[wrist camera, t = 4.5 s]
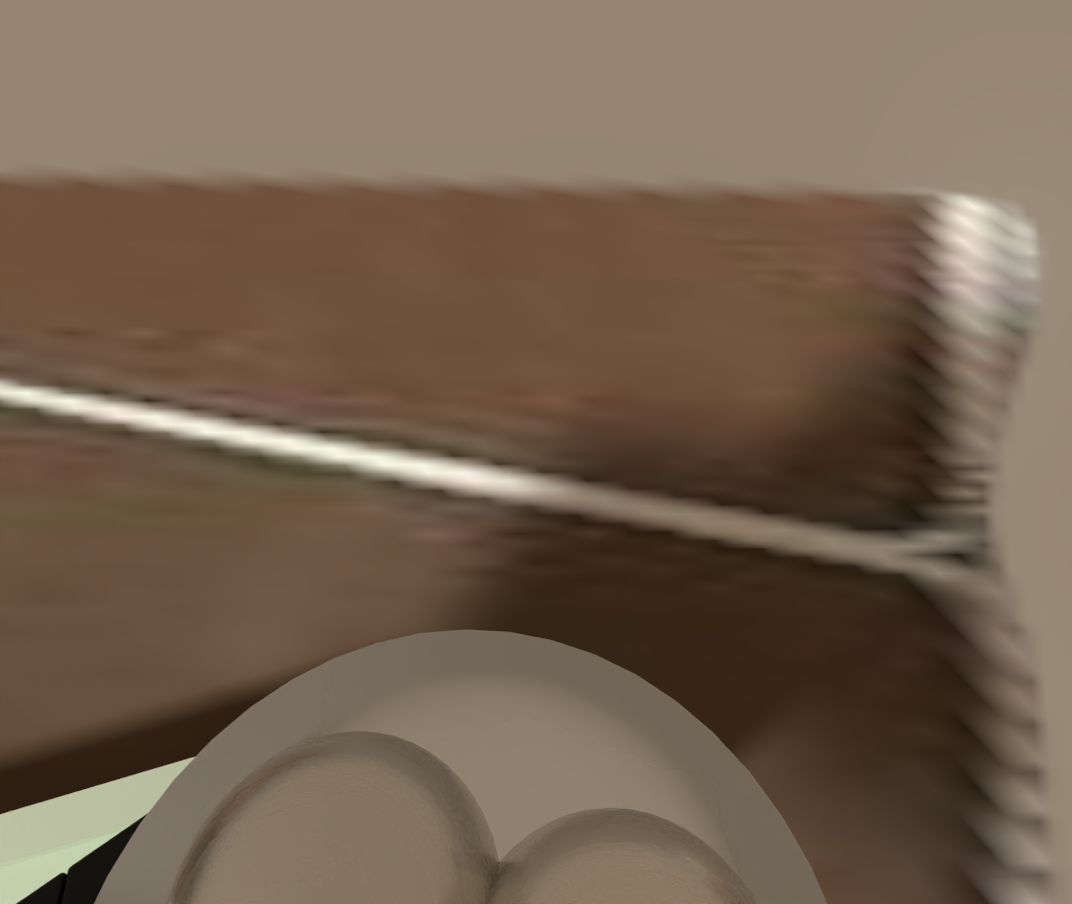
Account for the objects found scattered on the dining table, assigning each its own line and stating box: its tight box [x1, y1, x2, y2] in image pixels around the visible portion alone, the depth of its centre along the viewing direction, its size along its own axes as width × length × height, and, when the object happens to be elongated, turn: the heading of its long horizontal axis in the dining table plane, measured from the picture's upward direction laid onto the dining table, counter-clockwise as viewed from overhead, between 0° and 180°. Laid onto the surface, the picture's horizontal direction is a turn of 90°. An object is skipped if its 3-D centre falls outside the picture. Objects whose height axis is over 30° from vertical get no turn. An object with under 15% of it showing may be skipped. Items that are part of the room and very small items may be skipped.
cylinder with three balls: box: [94, 630, 827, 904], centre depth 9 cm, size 5×5×13 cm
